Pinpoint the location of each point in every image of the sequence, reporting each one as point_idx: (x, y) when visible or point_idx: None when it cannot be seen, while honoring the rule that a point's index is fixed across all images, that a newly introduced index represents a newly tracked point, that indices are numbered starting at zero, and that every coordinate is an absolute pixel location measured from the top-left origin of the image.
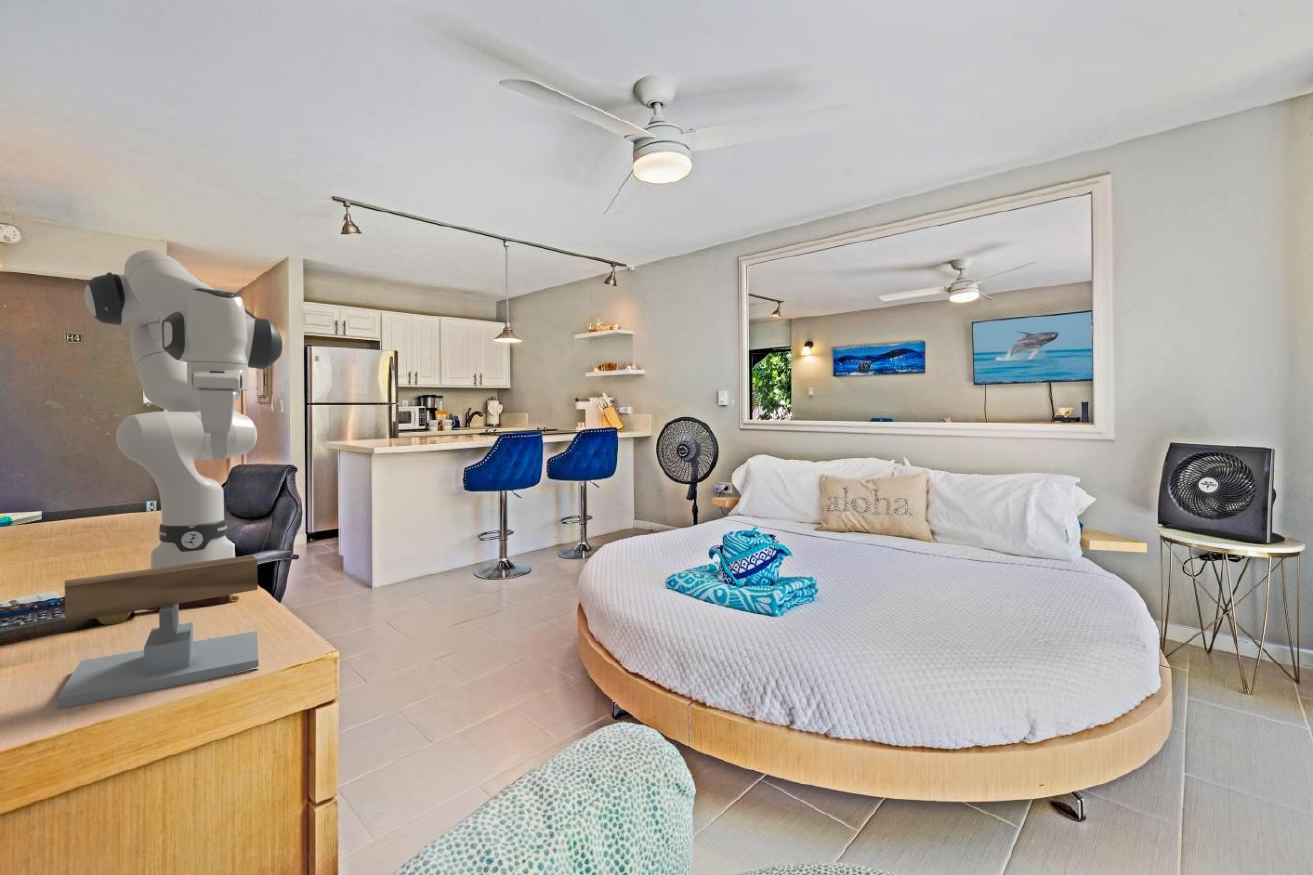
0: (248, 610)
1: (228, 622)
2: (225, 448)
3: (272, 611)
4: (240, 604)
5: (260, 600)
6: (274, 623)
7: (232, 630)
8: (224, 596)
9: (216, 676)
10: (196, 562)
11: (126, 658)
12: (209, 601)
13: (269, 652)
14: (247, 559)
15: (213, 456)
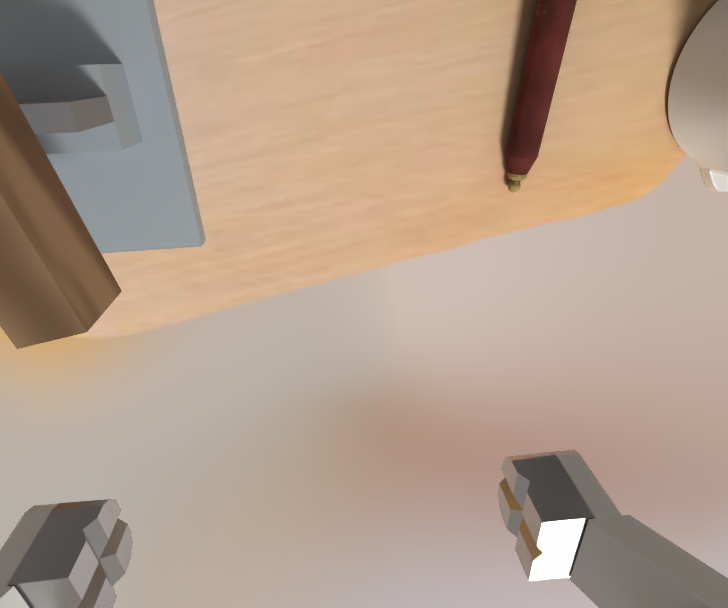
0: (418, 213)
1: (349, 181)
2: (521, 554)
3: (382, 256)
4: (476, 194)
5: (482, 230)
6: (296, 263)
7: (287, 193)
8: (514, 164)
9: None
10: (5, 204)
11: (105, 11)
12: (512, 132)
13: (122, 262)
14: (21, 327)
15: (25, 524)
